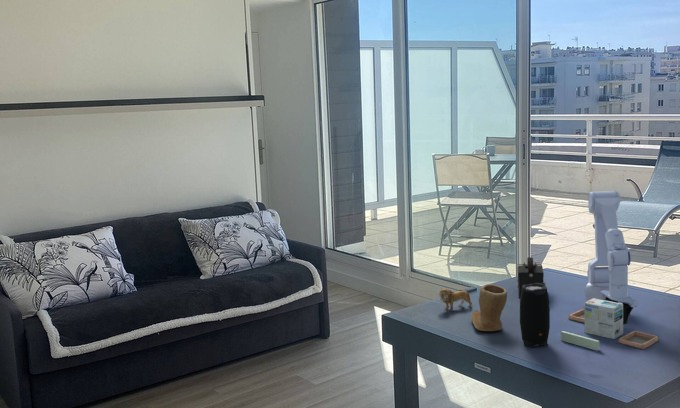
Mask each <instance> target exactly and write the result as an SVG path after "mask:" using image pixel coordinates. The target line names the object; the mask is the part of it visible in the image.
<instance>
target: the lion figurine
mask: <svg viewBox="0 0 680 408" xmlns="http://www.w3.org/2000/svg"><path fill="white" fill-rule="evenodd" d="M438 296H439V298H440V301H442V302H443V303H444V304H445V306H446V307H444V309H445V310H448V309H449V308H450V309H449V311H450V312H453V311H454V302H455V303H456V302H459V301H460V302H461V303H460V304H458V307H462V306H463V305H464V304H465V302H466V303H468V304H469V305H468V308H472V304H473V303H472V301H471V296H470V293H469V292H468V291H466V290H464V289H463V290H459V291H456V292H455V291H452V290H451V289H448V288H441V290H440V291H439V294H438Z"/></svg>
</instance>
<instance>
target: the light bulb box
mask: <svg viewBox="0 0 680 408" xmlns="http://www.w3.org/2000/svg"><path fill="white" fill-rule="evenodd" d="M584 305H585V307H584V309H585V323H584V334H590V335H594V336H599V337H602V338H608V339H611V340H615V339H617V338H618V337H619V338H620V336H622V335H623V334H624V324H623V303H621V302H618V303H617V302H611V301H605V300H600V299H595V298H593V299H591V300H589V301H587V302H585V301H584Z"/></svg>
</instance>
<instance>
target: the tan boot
mask: <svg viewBox="0 0 680 408" xmlns="http://www.w3.org/2000/svg"><path fill="white" fill-rule="evenodd" d="M478 294H479V297H478V305H479V310H476V311H474V312H472V313H471V314H470V317H471V321H472V325H473V326H474V328H475V329H476V330H478V331H481V332H498V331H501V330H502V328H503V323H502V320H501V316H502V313H503V311H504V308H505V306H506V304H507V300H508V299H507V298H508V291H507V290H506V289H505V288H504V287H502V286H499V285H497V284H491V283H490V284H489V283H488V284H484V285H482V286H481V287H480V289H479V293H478Z"/></svg>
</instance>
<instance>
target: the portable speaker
mask: <svg viewBox="0 0 680 408" xmlns="http://www.w3.org/2000/svg"><path fill="white" fill-rule="evenodd" d="M550 306H551V305H550V298H549V293H548V288H547V285H546V286H545V285H544V284H541V283H534V284H529V285H522V292H521V298H519V325H520V334H521V340H522V343H523V345H524V346H525V347H529V348H534V347H535V346H542V347H547V346H548V340H549V335H550V326H551V325H550V323H551V315H550V313H551V312H550V311H551V309H550Z"/></svg>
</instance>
